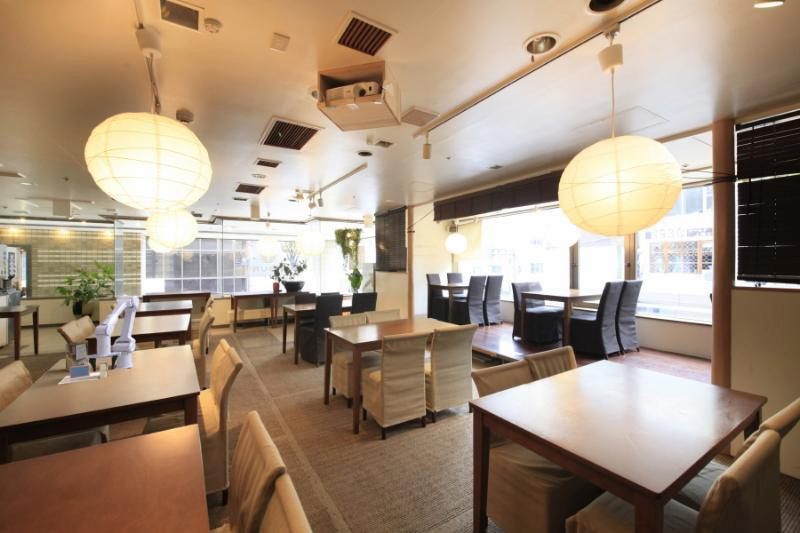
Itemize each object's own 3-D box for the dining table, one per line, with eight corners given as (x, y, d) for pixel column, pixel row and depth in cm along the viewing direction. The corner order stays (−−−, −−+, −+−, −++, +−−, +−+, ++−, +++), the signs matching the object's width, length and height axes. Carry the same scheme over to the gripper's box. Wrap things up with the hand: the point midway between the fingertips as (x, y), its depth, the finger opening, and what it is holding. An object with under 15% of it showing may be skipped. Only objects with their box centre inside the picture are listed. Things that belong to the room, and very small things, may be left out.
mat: (65, 377, 189) (65, 376, 189) (103, 372, 197) (103, 371, 197) (57, 385, 177) (57, 384, 177) (97, 379, 186) (97, 379, 186)
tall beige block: (102, 375, 192) (102, 362, 192) (107, 375, 193) (107, 361, 193) (99, 379, 187) (99, 365, 187) (105, 378, 188) (105, 364, 188)
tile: (70, 377, 187) (70, 366, 187) (90, 374, 192) (90, 364, 191) (70, 378, 186) (70, 367, 186) (89, 375, 190) (89, 365, 190)
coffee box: (88, 369, 203) (88, 342, 202) (76, 372, 197) (76, 345, 196) (77, 367, 205) (77, 341, 205) (64, 370, 199) (64, 344, 198)
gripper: (84, 349, 182) (84, 374, 183) (119, 346, 190) (119, 370, 190) (87, 346, 188) (88, 370, 189) (121, 343, 196) (121, 366, 196)
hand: (103, 370), depth 190 cm, fingers open, 7 cm apart
